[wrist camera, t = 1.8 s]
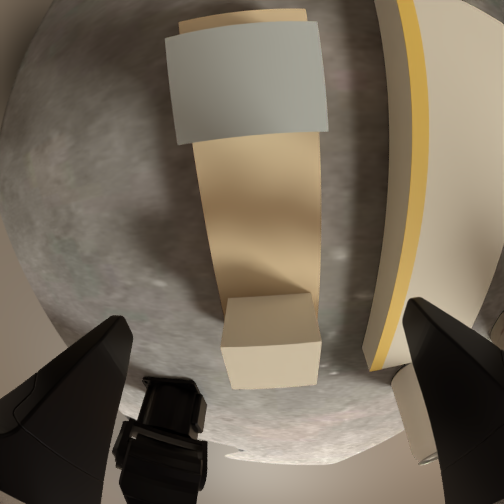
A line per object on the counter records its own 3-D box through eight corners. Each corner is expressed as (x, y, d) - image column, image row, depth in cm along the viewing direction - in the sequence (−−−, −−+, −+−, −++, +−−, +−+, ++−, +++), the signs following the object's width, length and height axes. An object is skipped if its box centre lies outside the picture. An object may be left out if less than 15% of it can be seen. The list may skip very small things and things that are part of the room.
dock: (361, 347, 24) (369, 371, 21) (371, -11, 9) (388, -27, 7) (449, 329, 23) (460, 348, 20) (485, 30, 9) (508, 27, 6)
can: (382, 390, 28) (404, 471, 18) (402, 358, 25) (435, 450, 14) (422, 383, 28) (447, 455, 18) (443, 351, 25) (480, 430, 14)
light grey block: (201, 135, 12) (177, 145, 8) (192, 58, 10) (164, 38, 6) (308, 125, 12) (328, 131, 8) (300, 47, 10) (317, 21, 6)
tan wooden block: (307, 321, 23) (314, 357, 19) (238, 326, 23) (234, 361, 19) (295, 30, 12) (305, 8, 9) (196, 40, 12) (178, 22, 9)
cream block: (236, 342, 18) (232, 389, 15) (228, 298, 16) (220, 347, 13) (308, 337, 18) (316, 384, 15) (310, 292, 16) (321, 341, 13)
